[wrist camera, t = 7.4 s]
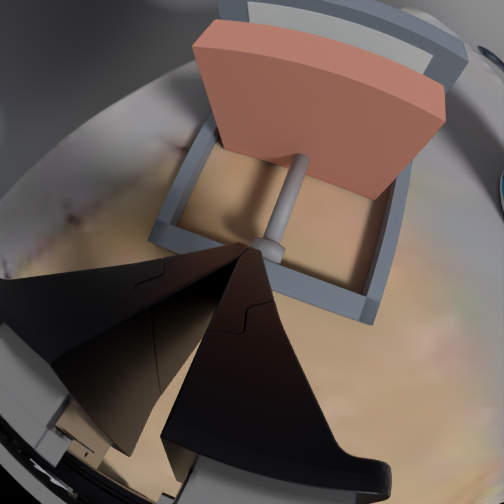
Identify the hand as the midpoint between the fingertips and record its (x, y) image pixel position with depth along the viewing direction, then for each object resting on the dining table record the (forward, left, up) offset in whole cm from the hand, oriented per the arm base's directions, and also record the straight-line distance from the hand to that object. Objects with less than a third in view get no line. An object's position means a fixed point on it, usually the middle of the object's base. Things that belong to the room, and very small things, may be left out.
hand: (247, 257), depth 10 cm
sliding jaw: (+5, 0, -8) cm, 10 cm away
